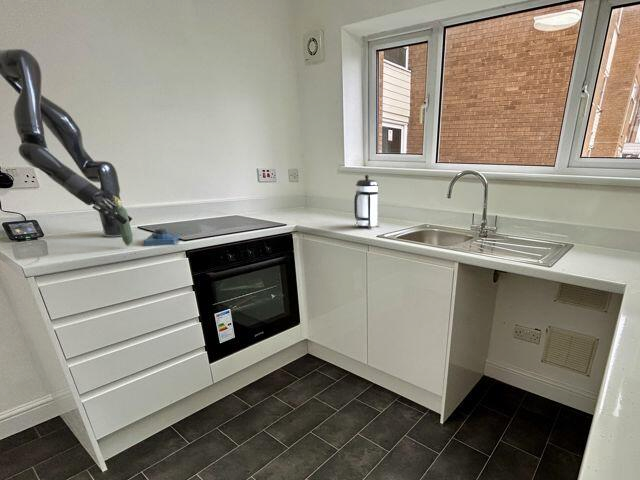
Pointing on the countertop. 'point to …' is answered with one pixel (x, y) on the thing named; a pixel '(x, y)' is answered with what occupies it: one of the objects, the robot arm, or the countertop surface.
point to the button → (160, 231)
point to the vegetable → (125, 227)
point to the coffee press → (366, 202)
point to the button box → (161, 239)
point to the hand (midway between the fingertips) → (128, 221)
